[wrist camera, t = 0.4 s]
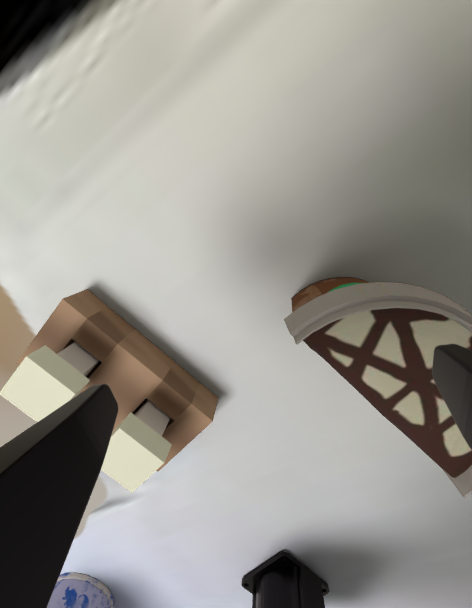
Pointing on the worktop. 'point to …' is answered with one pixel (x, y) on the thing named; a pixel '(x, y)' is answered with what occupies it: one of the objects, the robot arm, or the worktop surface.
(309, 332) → the food container
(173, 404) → the bar
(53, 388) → the plunger
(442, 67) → the worktop surface
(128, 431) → the plunger
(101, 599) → the aerosol can
